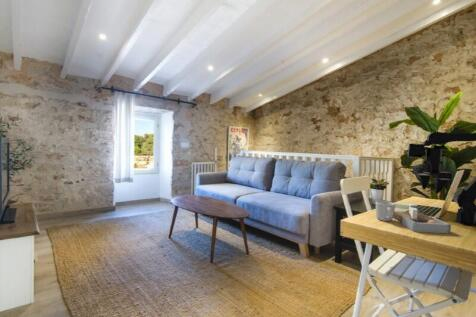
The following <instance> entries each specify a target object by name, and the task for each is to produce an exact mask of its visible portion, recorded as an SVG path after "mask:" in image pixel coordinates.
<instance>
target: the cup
mask: <svg viewBox="0 0 476 317" xmlns="http://www.w3.org/2000/svg"><path fill="white" fill-rule="evenodd" d="M396 206H397V205H396V203H395V202H391V201H387V200H376V201H375V217H376V219H377V220H379V221H383V222H391V221H392V220H393V219H394V218H393V215H394V211H395V210H396Z"/></svg>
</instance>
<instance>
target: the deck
mask: <svg viewBox="0 0 476 317" xmlns="http://www.w3.org/2000/svg"><path fill="white" fill-rule="evenodd" d="M402 217H406V218H408V219H410V220H412V221H414V222H416V223H427V222H428V221H429V220H433V217H432V216H429V215H427V214H426V213H422V212H417V219H412V217H411V215H410V213H409V211H395V210H394V215H393V219H394V220H395V221H397V222H399V223H401V224H402Z"/></svg>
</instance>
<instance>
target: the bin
mask: <svg viewBox="0 0 476 317" xmlns="http://www.w3.org/2000/svg"><path fill="white" fill-rule="evenodd" d="M432 218H433V217H432ZM433 220H434V221H436V222H437V223H416V222H414V221H412V220H410V219H408V218H406V217H402V223H401V225H402V226H403V227H405V228H407V229H409V230H410V231H412V232H414V233H415V232H416V233H433V234H434V233H435V234H451V228H452V225H451V224H450V223H447V222H445V221H443V220H441V219H438V218H435V217H434V218H433Z"/></svg>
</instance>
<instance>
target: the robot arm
mask: <svg viewBox="0 0 476 317" xmlns="http://www.w3.org/2000/svg"><path fill="white" fill-rule="evenodd" d="M451 142H476V132H469V133H468V132H466V133H465V132H464V133H462V132H461V133H451V132H450V133H449V132H443V131H434V132H430V133H429V134H427V136H426V139H425V140H424V141H423V142H422V143H421V144H420V143H408V144H409V145H408V149H407V158H417V159H422V158H423V157H425V159H424V160H422V163H420V164H415V165H412V166H411V169H412V173H413V174H414V175H415V176H416V177H418V179H419V181H420V184H421V188H422V190H426V188H427V187H428V184H429V182H430V179H431V176H432V177H433V178H432V179H433V181H434V182H435V190H434V191H435V194H439V193H440V192H441V191H442V189H443V188H444V187H445V186H446V185H447V183H449V181H451V180H454V174H453V173H452V172H448V171H443V170H442V169H441V164H444V161H443V160H442V153H443V150H448V147H447V146H446V145H445V144H446V143H451ZM439 144H441V145H439ZM430 146H431V147H430ZM425 155H426V156H425ZM452 198H453V201H454V203H456V204H457V206H458V207H459V208H457V211H456V217H455V218H456V219H454V220H453V221H454V222H457V223H459V224H462V225H464V226H476V203H475V202H476V175H475V176H474V177H473V179H471V181H470V182H469V183H468V184H467V186H465V187H463V188H462V187H461V186H458V188H457V190H456V192H453V197H452Z"/></svg>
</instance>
